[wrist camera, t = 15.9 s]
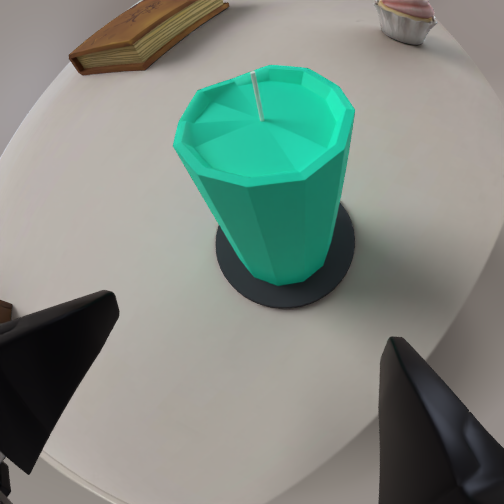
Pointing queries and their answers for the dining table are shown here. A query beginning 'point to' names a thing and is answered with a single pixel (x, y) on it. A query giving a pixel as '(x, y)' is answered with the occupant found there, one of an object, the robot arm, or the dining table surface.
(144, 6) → the diary
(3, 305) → the holder
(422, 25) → the cupcake
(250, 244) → the candle
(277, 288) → the coaster
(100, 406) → the dining table surface
